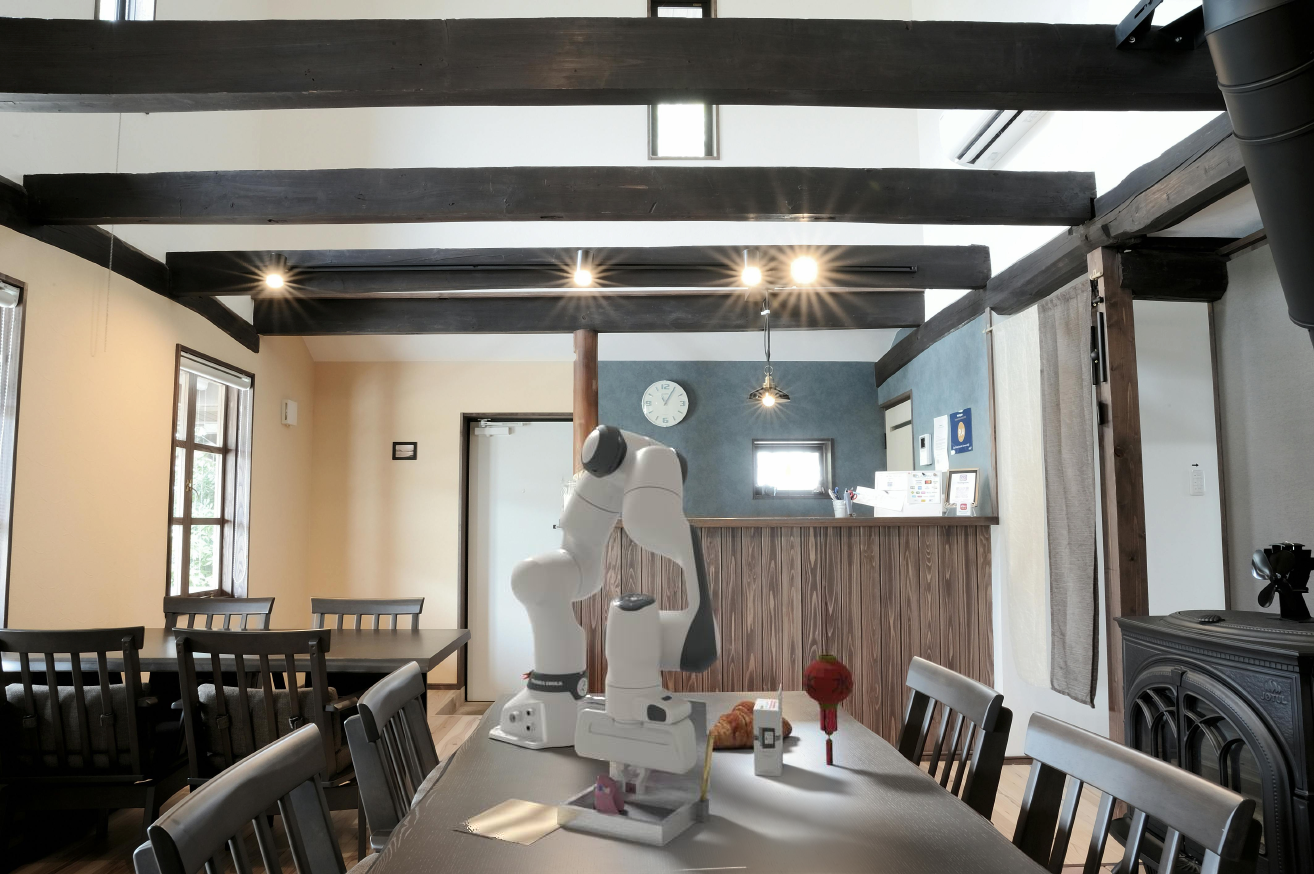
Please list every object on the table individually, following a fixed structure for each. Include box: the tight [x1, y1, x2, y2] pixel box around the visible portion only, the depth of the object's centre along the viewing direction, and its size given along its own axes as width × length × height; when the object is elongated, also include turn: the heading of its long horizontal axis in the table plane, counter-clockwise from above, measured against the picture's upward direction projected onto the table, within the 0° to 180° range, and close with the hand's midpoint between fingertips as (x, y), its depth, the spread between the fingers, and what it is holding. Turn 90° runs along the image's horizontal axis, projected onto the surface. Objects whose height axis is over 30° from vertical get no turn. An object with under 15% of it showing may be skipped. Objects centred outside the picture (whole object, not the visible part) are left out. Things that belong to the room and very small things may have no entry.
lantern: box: [802, 601, 854, 766], centre depth 157 cm, size 10×10×30 cm
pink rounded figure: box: [592, 774, 625, 815], centre depth 128 cm, size 10×5×7 cm, turn 1°
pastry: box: [709, 700, 793, 750], centre depth 172 cm, size 17×15×8 cm
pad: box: [460, 797, 564, 847], centre depth 127 cm, size 14×14×1 cm
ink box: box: [753, 683, 784, 777], centre depth 154 cm, size 9×5×15 cm, turn 168°
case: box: [556, 697, 714, 847], centre depth 129 cm, size 19×16×18 cm
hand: (633, 793), depth 128 cm, fingers closed
